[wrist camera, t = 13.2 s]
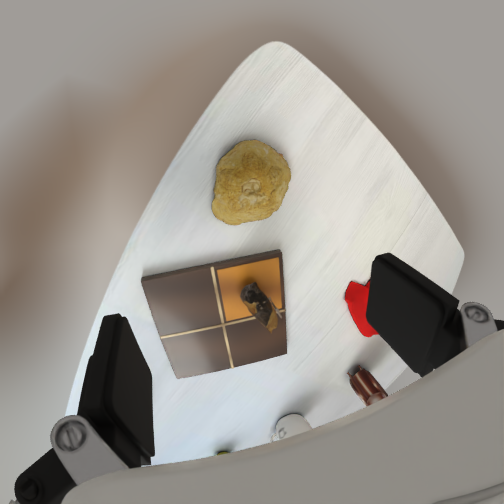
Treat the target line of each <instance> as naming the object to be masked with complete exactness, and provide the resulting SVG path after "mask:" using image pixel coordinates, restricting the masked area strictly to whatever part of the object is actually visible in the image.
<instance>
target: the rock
mask: <svg viewBox="0 0 504 504" xmlns="http://www.w3.org/2000/svg"><path fill="white" fill-rule="evenodd" d="M240 298H241V300H242V302H243V303H244V304H245V305H246V306H247V308H248V310H249V312H250V313H251V314H252V315H254V317H255V318H256V319H257V320H258V321H259V322H260V323H261V324H262V326H264V328H265V329H267V330H268V331H269V332H270V333H272V330H273V329H276V328H277V324H278V318H277V315H276V311H277V313H278V315H279V316H280V318H282V316H281V314H280V312H279V310H278V308H276V306H275V305H274V303H273V302H272V300H271V297H269V298H268V297H267V296H266V295H265V293H264V292H262V291H261V290H260V288H259V287H258V285H257V283H256V282H254V283H252V284H249V285H246V286H245V287H244V288H243V289H242V290H241V294H240ZM269 300H270V301H271V302H272V303H271V302H270V301H269ZM272 305H273V306H272ZM275 310H276V311H275Z"/></svg>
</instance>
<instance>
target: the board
mask: <svg viewBox="0 0 504 504" xmlns="http://www.w3.org/2000/svg"><path fill="white" fill-rule="evenodd" d="M254 282H256V283H257V285H258V287H259V288H260V290H261V291H262V292H264V293H265V295H266V296H267V297H268V298H269V297H271V300H272V302H273V303H274V305H275V306H276V308H278V310H279V312H280V314H281V316H282V318H280V316H279V315H278V313H277V311H276V310H275V311H276V315H277V318H278V324H277V328H276V329H273V330H272V333H270V332H269V331H268V330H267V329H265V328H264V326H262V324H261V323H260V322H259V321H258V320H257V319H256V318H255V317H254V315H252V314H251V313H250V312H249V310H248V308H247V306H246V305H245V304H244V303H243V302H242V300H241V298H240V294H241V290H242V289H243V288H244V287H245V286H246V285H249V284H252V283H254ZM141 283H142V286H143V289H144V293H145V296H146V299H147V302H148V305H149V308H150V310H151V313H152V316H153V319H154V322H155V325H156V327H157V330H158V333H159V335H160V339H161V341H162V343H163V346H164V348H165V351H166V354H167V356H168V359H169V361H170V363H171V366H172V368H173V371H174V373H175V375H176V378H177V379H180V378H186V377H191V376H196V375H202V374H207V373H211V372H216V371H221V370H225V369H230V368H234V367H238V366H242V365H246V364H251V363H254V362H258V361H262V360H266V359H270V358H273V357H277V356H281V355H284V354H287V339H286V316H285V311H286V309H285V296H284V277H283V260H282V252H281V251H280V250H274V251H270V252H265V253H260V254H255V255H250V256H245V257H240V258H235V259H230V260H226V261H221V262H216V263H211V264H206V265H201V266H196V267H191V268H186V269H181V270H176V271H171V272H166V273H161V274H157V275H152V276H147V277H142V279H141ZM269 301H270V300H269ZM270 302H271V301H270ZM272 302H271V303H272ZM272 306H273V305H272Z"/></svg>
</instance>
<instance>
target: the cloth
mask: <svg viewBox="0 0 504 504" xmlns="http://www.w3.org/2000/svg"><path fill="white" fill-rule="evenodd" d="M369 287H370V281H369V282H368V283H367V284H366V286H363V285H361V284H358V283H355V282H352V281H351V282H350V283H349V286H348V288H347V290H346V295H345V300H346V302H347V303H348V307H349V311H350V313H351V315H352V317H353V320H354V321H355V323H356V325H357V327H358V329H359V330H360V332H361V333H362V334H363V335H364V336H366V337H371V336H372V335H377V334H378V333H377V332H376V330H375V329H374V328H373V327H372V326H371V325H370V324H369V323H368V322H367V319H366V309H367V302H368V295H369Z"/></svg>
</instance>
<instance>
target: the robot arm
mask: <svg viewBox="0 0 504 504" xmlns="http://www.w3.org/2000/svg"><path fill="white" fill-rule="evenodd" d="M458 304H459V300H458V299H456V298H455V297H453V296H452V295H451V294H449V293H448V292H447V291H445V290H444V289H443V288H441V287H440V286H438V285H437V284H436V283H434V282H433V281H431V280H430V279H428V278H427V277H425V276H424V275H423V274H421V273H420V272H418V271H417V270H415V269H414V268H412V267H411V266H409V265H408V264H406V263H405V262H403V261H402V260H400V259H399V258H397V257H396V256H394V255H393V254H391V253H385V254H381V255H378V256H376V257H375V260H374V261H373V262H372V269H371V278H370V287H369V295H368V302H367V309H366V319H367V322H368V323H369V324H370V325H371V326H372V327H373V328H374V329H375V330H376V332H377V333H378V334H379V335H380V336H381V337H382V338H383V339H384V340H385V341H386V342H387V343H388V344H389V345H390V346H391V348H392V349H393V350H394V351H395V352H396V353H397V354H398V355H399V356H400V357H401V358H402V360H403V361H404V362H405V363H406V364H407V365H408V366H409V367H410V368H411V369H412V370H413V371H414V372H415V373H418V374H419V375H420V376H421V377H422V378H420V379H419V380H417V381H415V382H413V383H412V384H410V385H408V386H406V387H405V388H403V389H401V390H399V391H397V392H395V393H393V394H391V395H389V396H388V397H386V398H384V399H382V400H380V401H378V402H376V403H373V404H371V405H369V406H367V407H365V408H363V409H361V410H358V411H356V412H354V413H352V414H349V415H347V416H345V417H342V418H340V419H337V420H335V421H332V422H330V423H327V424H325V425H322V426H319V427H317V428H314V429H311V430H308V431H306V432H303V433H300V434H297V435H294V436H291V437H288V438H284V439H281V440H278V441H274V442H271V443H268V444H264V445H260V446H256V447H253V448H249V449H244V450H240V451H236V452H231V453H227V454H222V455H217V456H212V457H207V458H201V459H196V460H189V461H183V462H176V463H168V464H161V465H154V466H146V467H141V466H142V465H151V458H150V457H153V456H154V455H155V447H154V431H153V404H152V375H151V371H150V369H149V367H148V365H147V362H146V360H145V358H144V356H143V354H142V352H141V350H140V347H139V345H138V343H137V341H136V338H135V336H134V334H133V332H132V329H131V327H130V324H129V322H128V320H127V318H126V317H122V316H121V315H120V314H119V313H118V314H113V315H107V316H104V317H103V320H102V323H101V327H100V330H99V334H98V338H97V341H96V345H95V349H94V353H93V355H92V356H90V358H89V361H88V365H87V369H86V373H85V378H84V382H83V387H82V392H81V396H80V402H79V407H78V412H77V415H70V416H66V417H64V418H62V419H60V420H59V421H58V422H57V423H56V424H55V426H54V427H53V429H52V431H51V435H50V438H51V444H52V447H53V448H52V449H50V450H49V451H48V452H47V453H46V454H45V455H43V456H42V457H41V458H40V459H39V460H37V461H36V462H35V463H34V464H32V465H31V466H30V467H29V468H28V469H26V470H25V471H24V472H23V473H22V474H20V476H19V477H18V478H17V480H16V482H15V488H14V490H15V496H16V498H17V500H16V501H14V500H11V501H10V503H9V504H504V321H502V320H494V319H493V316H492V313H491V312H490V310H489V309H488V308H487V307H485V306H484V305H482V304H480V303H475V302H467V303H465V304H463V305H462V307H461V309H460V311H459V310H458V309H457V307H458ZM433 369H435V370H434V371H433Z"/></svg>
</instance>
